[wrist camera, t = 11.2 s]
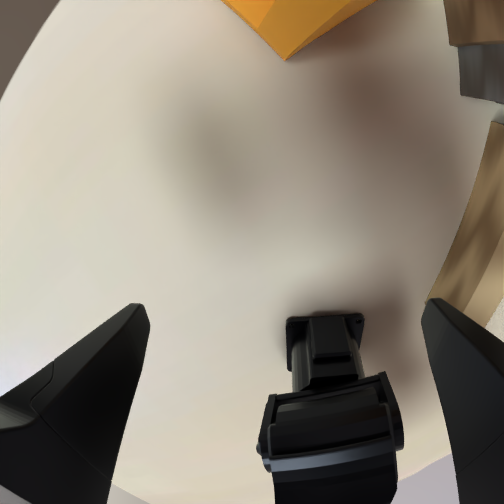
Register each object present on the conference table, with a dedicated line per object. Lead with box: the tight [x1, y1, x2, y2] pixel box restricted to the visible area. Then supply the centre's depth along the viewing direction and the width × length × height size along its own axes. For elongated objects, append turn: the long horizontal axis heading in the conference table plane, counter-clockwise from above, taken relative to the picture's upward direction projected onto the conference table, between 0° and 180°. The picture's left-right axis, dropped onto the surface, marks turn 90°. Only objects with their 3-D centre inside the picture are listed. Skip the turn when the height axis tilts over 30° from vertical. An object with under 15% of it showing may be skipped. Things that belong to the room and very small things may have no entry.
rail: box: [425, 121, 504, 328], centre depth 17 cm, size 20×4×5 cm, turn 172°
